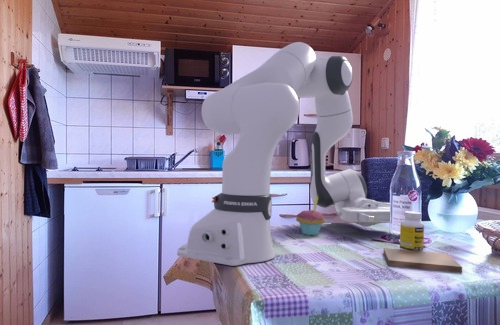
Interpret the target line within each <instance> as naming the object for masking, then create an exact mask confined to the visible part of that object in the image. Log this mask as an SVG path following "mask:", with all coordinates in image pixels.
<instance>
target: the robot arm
mask: <svg viewBox="0 0 500 325" xmlns="http://www.w3.org/2000/svg"><path fill="white" fill-rule="evenodd" d="M353 73H354V72H353V68H352V65H351V62H350V61H349V60H348V59H347V58H346V57H345V56H342V55H332V56H330V57H321V58H320V57H319V58H316V53H315V52H314V49H313V48H312V47H311V46H310V45H309V44H307V43H305V42H301V41H297V42H292V43H290V44H288V45H286V46H283V47H282V48H281V49H279V50H278V51H276V52H275V53H274V54H273V55H272V56H270V58H268V59H267V60H266V61H264V63H262V64H261V65H260V66H259V67H258V68H256V69H254V70H253V71H250V72H249V73H247V74H245V75H244V76H242V77H239V78H238V79H236V80H235V81H233V82H232V83H230V84H228V85H227V86H225V87H224V88H222V89H219V90H218V91H216V92H213V93H210V94H209V95H208V96H206V98H204V100H203V102H202V105H201V110H200V111H201V117H202V118H201V119H202V122H203V124H204V125H205V126H206V128H207V129H208V130H210V131H212V132H215V133H218V134H223V135H239V137H238V140H237V143H236V145H235V146H234V149H232V150H231V151H230V152H228V154H227V155H225V156H224V159H223V161H222V173H221V174H222V178H221V179H222V180H221V192H220V193H219V194H217V195H215V196H214V197H213V196H212V197H211V199H212V200H211V203H213V207H214V208H213V209H212V210H211V211H209V212H208V213H207V214H206V215H205V216H203V217H201V218H200V219H199V220H197V221H196V222H195V223H194V224H193V225H192V226H191V227H190V230H189V231H188V232H189V233H188V238H187V242H186V243H184V244H182V245H181V246H180V247H178V249H177V254H176V255H177V257H179V258H181V257H182V258H187V259H192V260H193V259H194V260H197V261H204V262H209V263H215V264H221V265H226V266H234V267H235V266H241V265H244V264H253V263H262V262H267V261H271V260H272V259H274V258H275V257H276V252H275V248H274V243H273V237H272V228H271V218H272V216H273V215H272V212H273V200H272V194H271V193H270V192H271V191H270V190H271V172H272V163H273V162H272V161H273V157H274V155H275V154H274V153H275V151H276V150H277V149H276V148H277V147H278V144H279V143H280V140H281V139H282V138H283V136H284V135H285V134H286V133H287V131H288V130H289V129H291V128H292V127H293V126H294V125H295V124H296V122H297V120H298V118H299V115H300V109H301V106H300V100H299V99H301V98H306V99H307V98H314V101H315V103H314V106H315V112H316V117H317V119H316V120H317V121H316V128H315V130H314V132H313V133H312V134H311V136H310V142H309V152H310V153H309V155H310V156H309V158H310V161H309V162H310V182H309V194H310V197H311V200H312V201H311V202H313V204H315V200H316V197H317V195H318V201H317V206H318V207H321V208H324V209H327V208H329V207H331V206H333V205H334V206H335V207H334V208H335V210H336V211H335V215H336V216H337V215H338V216H340V220H341V221H344V222H345V223H353V224H356V225H359V226H361V227H365V228H366V227H367V228H368V227H371V226H376V225H378V224H380V225H381V224H389V222H390V203H391V202H385V201H376V200H374V199H369V198H367V195H368V188H367V183H366V181H365V178H364V176H363V175H362V174H361V173H359V172H358V171H357V170H356V169H354V168H348V169H345V170H341V171H339V172H336V173H333V174H329V175H326V157H327V156H326V155H327V154H328V152H329V150H330V149H331V148H332V147H334V145H336V144H337V143H338V142H339V141H341V140H342V139H343V138H345V137H346V136H347V135H348V133H349V132H350V130H351V129H352V126H353V124H354V123H353V122H354V116H353V115H354V114H353V110H352V103H351V98H350V95H349V92H348V90H349V88H351V85H352V82H353V75H354V74H353ZM390 223H391V222H390Z"/></svg>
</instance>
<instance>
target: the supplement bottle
mask: <svg viewBox="0 0 500 325" xmlns="http://www.w3.org/2000/svg"><path fill="white" fill-rule="evenodd" d="M422 215H423V214H422V212H419V211H413V210H412V211H410V210H409V211H408V210H407V211H405V212H404V217H405V220H402V221H401V222H400V231H399V233H400V234H399V249H401V250H413V251H424V241H425V224H424V222H423V221H422Z"/></svg>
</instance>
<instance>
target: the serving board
mask: <svg viewBox="0 0 500 325" xmlns="http://www.w3.org/2000/svg"><path fill="white" fill-rule="evenodd" d="M383 255H384V258H385V261H386V263H387V265H388V266H389V267H399V268H409V269H419V270H430V271H439V272H452V273H463V266H462V265H461V264H460V263H458V261H456V260H455V258H453V257H452V256H451V255H450V254H449V253H448V252H446V253H445V252H437V251H435V252H434V251H426V250H425V251H424V250H423V251H413V250H401V249H400V248H399V249H398V248H387V247H384V248H383Z"/></svg>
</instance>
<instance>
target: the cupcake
mask: <svg viewBox="0 0 500 325" xmlns="http://www.w3.org/2000/svg"><path fill="white" fill-rule="evenodd" d="M317 201H318V195H317V197H316V200H315V203H314V207H313V209H310V210H309V209H308V210H302V211H301V212H299V213H298V214H297V215H296V219H295V221H297V222H298V223H299V225H300V229H301V232H302V234H303V235H307V236H317V235H318V234H319V232H320V229H321V227H322V224H325V222H326V221H325V220H326V219H325V218H326V217H325V215H324V214H322V213H321V212H319V211H318V210H317V206H318V205H317ZM316 210H317V211H316Z"/></svg>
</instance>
